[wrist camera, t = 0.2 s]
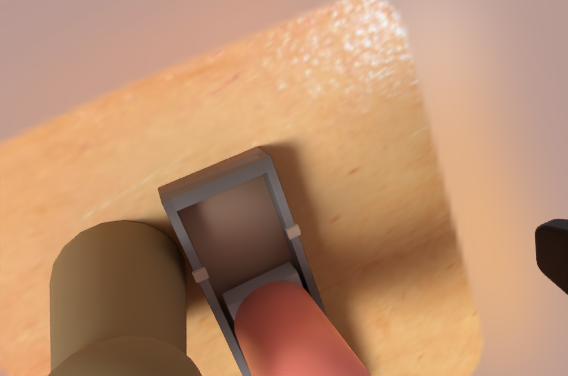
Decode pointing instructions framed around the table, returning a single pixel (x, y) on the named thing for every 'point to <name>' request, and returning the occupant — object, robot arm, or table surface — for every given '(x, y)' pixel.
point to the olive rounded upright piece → (119, 304)
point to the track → (235, 231)
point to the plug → (287, 329)
